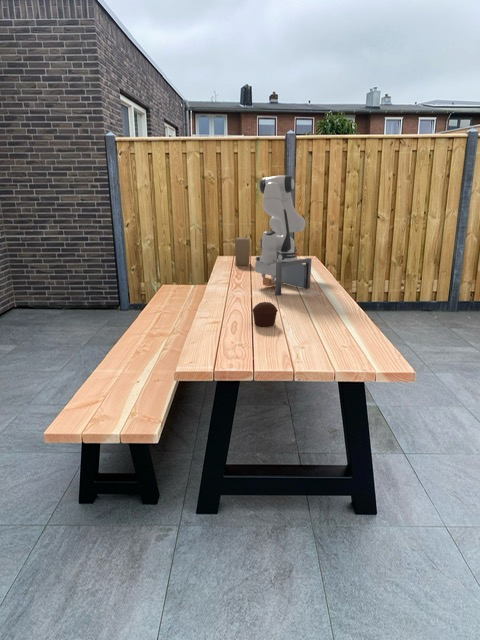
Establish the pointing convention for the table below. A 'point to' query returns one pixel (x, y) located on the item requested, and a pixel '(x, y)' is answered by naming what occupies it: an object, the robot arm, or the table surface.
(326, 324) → the table surface
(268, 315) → the muffin
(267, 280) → the orange stepped block
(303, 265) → the door
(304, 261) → the door frame
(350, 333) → the table surface
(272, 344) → the table surface
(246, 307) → the table surface
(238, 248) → the wooden block
